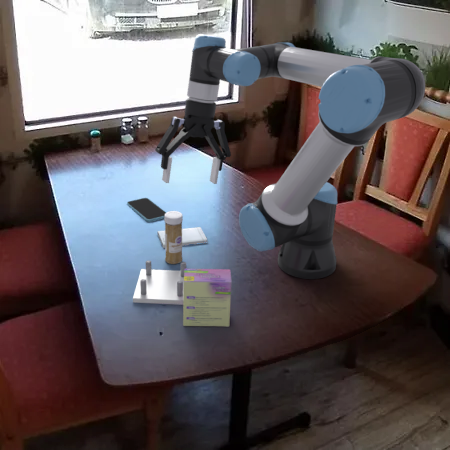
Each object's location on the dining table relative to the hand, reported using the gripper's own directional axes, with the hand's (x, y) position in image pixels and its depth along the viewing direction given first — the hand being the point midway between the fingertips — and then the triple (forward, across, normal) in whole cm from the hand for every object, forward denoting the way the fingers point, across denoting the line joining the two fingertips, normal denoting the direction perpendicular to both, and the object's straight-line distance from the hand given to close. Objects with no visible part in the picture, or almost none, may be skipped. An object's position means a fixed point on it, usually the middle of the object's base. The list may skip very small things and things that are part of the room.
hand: (189, 182), depth 166 cm
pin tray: (+23, +10, +15) cm, 29 cm away
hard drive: (+19, -4, -7) cm, 21 cm away
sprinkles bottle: (+21, +3, +3) cm, 21 cm away
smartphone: (+18, -1, -27) cm, 33 cm away
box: (+23, +6, +30) cm, 39 cm away
